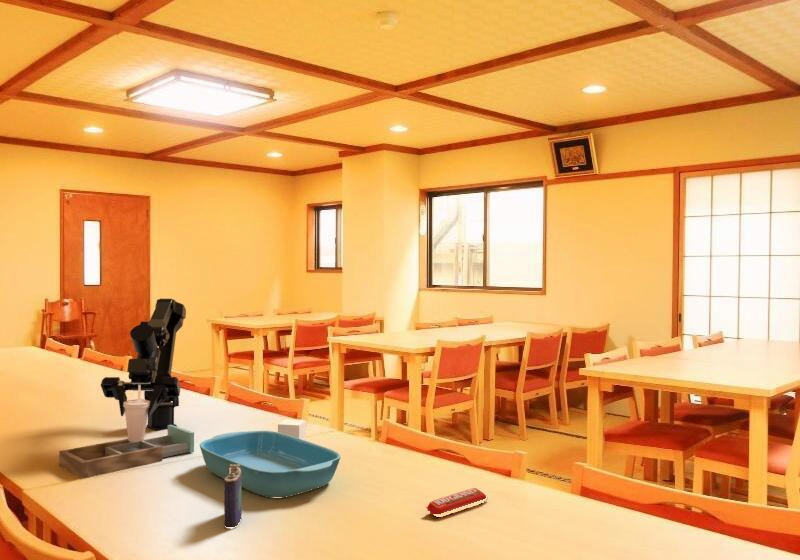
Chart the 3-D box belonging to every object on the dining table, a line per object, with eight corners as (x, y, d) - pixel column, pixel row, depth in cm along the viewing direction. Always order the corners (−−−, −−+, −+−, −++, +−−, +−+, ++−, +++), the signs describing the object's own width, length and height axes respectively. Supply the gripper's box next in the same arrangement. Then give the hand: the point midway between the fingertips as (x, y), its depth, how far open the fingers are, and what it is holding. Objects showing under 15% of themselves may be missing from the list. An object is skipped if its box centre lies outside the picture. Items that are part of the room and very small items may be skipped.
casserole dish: (359, 486, 148) (359, 454, 148) (276, 512, 132) (277, 476, 132) (262, 452, 174) (262, 425, 173) (182, 470, 157) (183, 440, 157)
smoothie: (148, 442, 166) (149, 386, 166) (121, 443, 164) (121, 387, 164) (150, 436, 172) (151, 382, 172) (124, 437, 171) (124, 382, 170)
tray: (170, 443, 179) (171, 424, 179) (193, 451, 171) (194, 432, 171) (103, 456, 166) (103, 436, 165) (125, 466, 158) (125, 445, 158)
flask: (228, 511, 131) (229, 457, 131) (243, 510, 132) (244, 457, 132) (222, 530, 122) (223, 472, 122) (238, 529, 123) (239, 471, 122)
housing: (136, 450, 173) (136, 436, 173) (162, 460, 164) (162, 446, 164) (59, 465, 158) (59, 451, 158) (82, 478, 150) (82, 462, 150)
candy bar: (435, 522, 128) (436, 506, 128) (422, 516, 131) (423, 501, 131) (490, 503, 139) (490, 489, 139) (477, 498, 142) (477, 484, 142)
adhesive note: (277, 446, 179) (277, 424, 179) (284, 440, 185) (285, 419, 185) (299, 447, 178) (299, 425, 178) (305, 441, 184) (306, 420, 184)
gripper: (103, 345, 171) (88, 397, 160) (178, 346, 173) (169, 396, 162) (111, 371, 179) (98, 422, 168) (184, 371, 181) (175, 421, 170)
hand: (135, 415), depth 167 cm, fingers closed on smoothie, 6 cm apart
